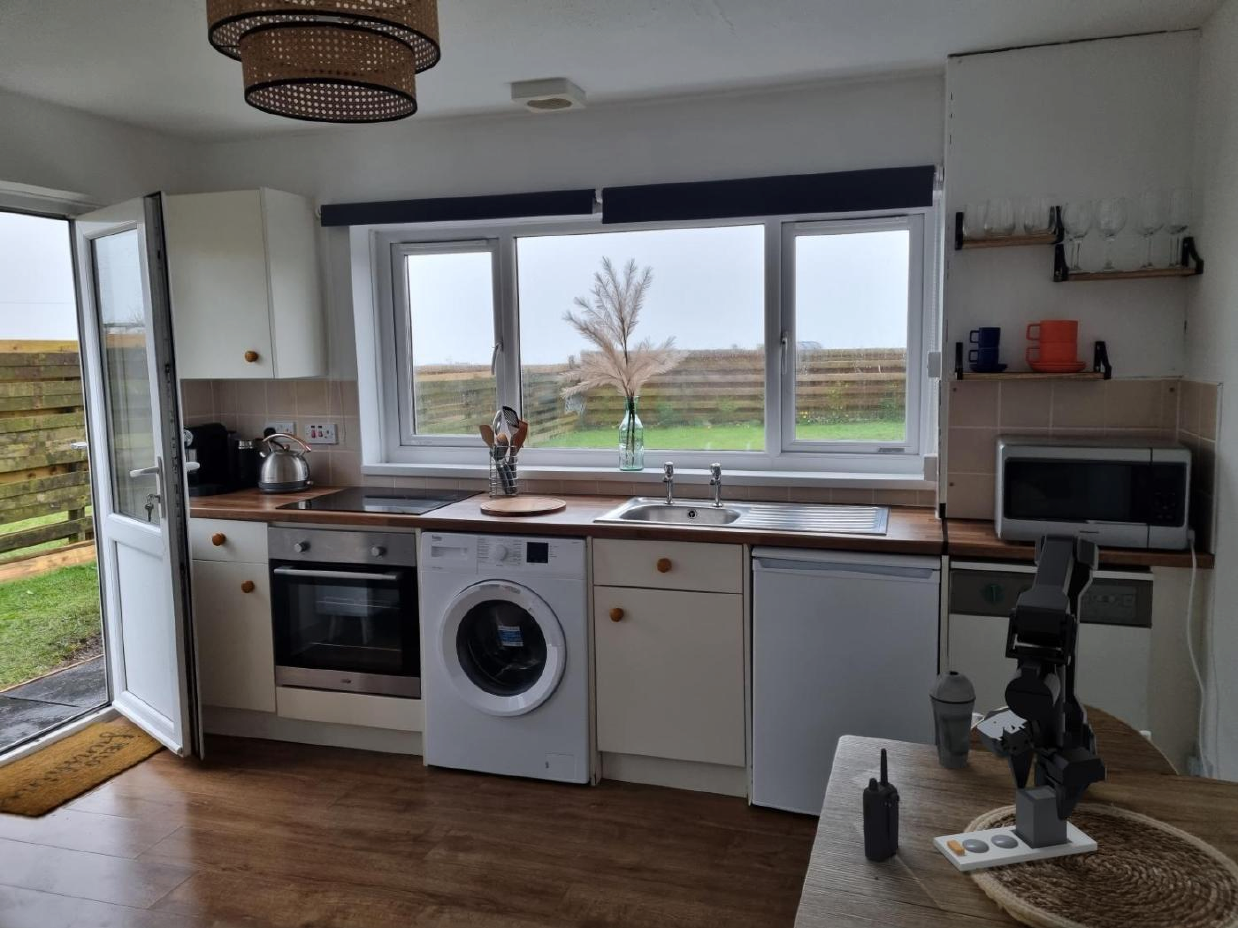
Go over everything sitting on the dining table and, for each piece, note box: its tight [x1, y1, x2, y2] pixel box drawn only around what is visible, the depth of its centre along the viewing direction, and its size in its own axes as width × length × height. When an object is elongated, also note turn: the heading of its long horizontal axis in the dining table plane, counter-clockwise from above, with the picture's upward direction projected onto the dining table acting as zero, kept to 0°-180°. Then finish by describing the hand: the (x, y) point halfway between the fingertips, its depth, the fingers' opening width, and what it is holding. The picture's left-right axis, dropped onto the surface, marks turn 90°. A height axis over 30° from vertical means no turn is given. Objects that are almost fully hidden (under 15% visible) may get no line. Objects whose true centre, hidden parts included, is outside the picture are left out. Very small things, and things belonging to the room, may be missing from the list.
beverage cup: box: [929, 645, 977, 769], centre depth 155 cm, size 7×7×20 cm
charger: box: [1015, 785, 1068, 849], centre depth 128 cm, size 5×4×7 cm
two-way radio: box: [862, 747, 901, 862], centre depth 128 cm, size 6×4×15 cm
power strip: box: [933, 820, 1098, 872], centre depth 127 cm, size 20×7×3 cm, turn 100°
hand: (1041, 803), depth 128 cm, fingers open, 9 cm apart
